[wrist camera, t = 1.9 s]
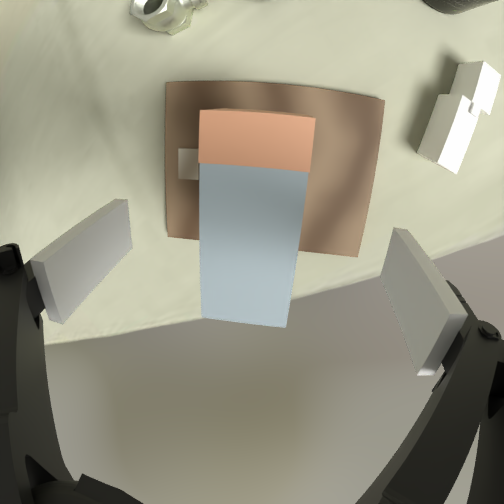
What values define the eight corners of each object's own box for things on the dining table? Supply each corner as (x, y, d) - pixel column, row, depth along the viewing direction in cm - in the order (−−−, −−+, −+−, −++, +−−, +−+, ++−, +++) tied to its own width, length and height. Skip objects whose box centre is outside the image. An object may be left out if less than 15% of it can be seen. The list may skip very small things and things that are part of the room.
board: (171, 232, 33) (136, 276, 25) (171, 82, 25) (125, 78, 17) (355, 251, 32) (374, 303, 23) (381, 100, 24) (419, 100, 16)
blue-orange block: (222, 262, 23) (200, 317, 17) (227, 108, 18) (200, 110, 12) (288, 269, 23) (286, 328, 17) (306, 114, 17) (315, 118, 12)
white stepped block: (418, 188, 28) (441, 206, 23) (368, 89, 24) (386, 86, 19) (511, 134, 23) (541, 144, 18) (473, 42, 19) (503, 36, 14)
